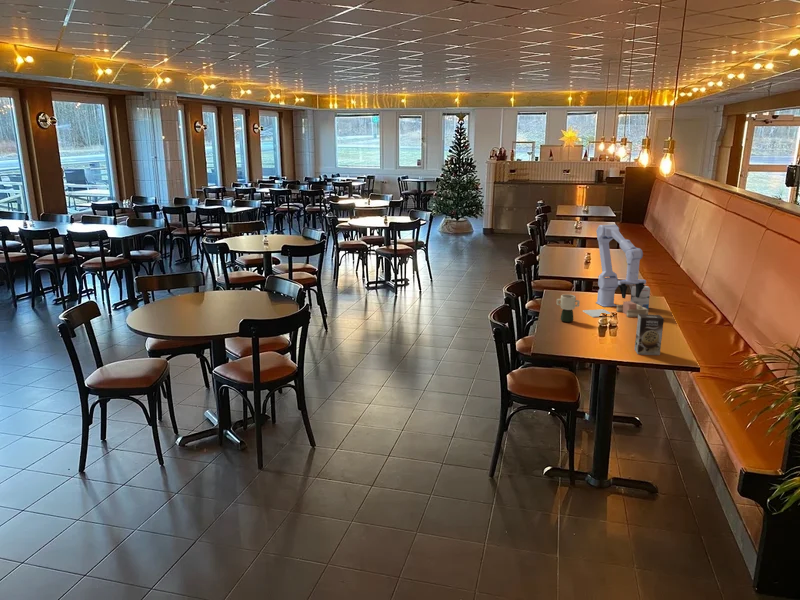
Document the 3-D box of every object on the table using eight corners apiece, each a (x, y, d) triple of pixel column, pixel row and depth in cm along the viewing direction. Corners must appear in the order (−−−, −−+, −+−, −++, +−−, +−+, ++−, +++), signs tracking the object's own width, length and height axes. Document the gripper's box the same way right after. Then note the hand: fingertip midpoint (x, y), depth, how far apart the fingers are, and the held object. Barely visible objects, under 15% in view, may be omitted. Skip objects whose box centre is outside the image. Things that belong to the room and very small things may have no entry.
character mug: (578, 320, 301) (580, 295, 298) (577, 324, 295) (579, 298, 292) (556, 318, 305) (557, 293, 302) (555, 322, 298) (556, 296, 295)
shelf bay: (616, 311, 317) (616, 304, 316) (635, 310, 319) (636, 303, 318) (627, 317, 306) (628, 310, 305) (647, 315, 308) (648, 309, 307)
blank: (622, 312, 315) (623, 301, 313) (629, 312, 315) (630, 301, 314) (628, 315, 309) (629, 304, 308) (635, 315, 310) (636, 304, 308)
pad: (582, 311, 318) (582, 310, 317) (603, 310, 319) (603, 309, 319) (593, 317, 306) (593, 316, 306) (614, 316, 308) (615, 315, 308)
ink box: (645, 306, 326) (647, 285, 323) (648, 309, 321) (650, 287, 318) (629, 306, 326) (631, 285, 323) (632, 309, 322) (634, 287, 319)
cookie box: (637, 354, 251) (640, 317, 247) (634, 349, 257) (637, 313, 253) (660, 355, 249) (664, 318, 245) (656, 350, 255) (660, 314, 251)
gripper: (623, 274, 302) (621, 300, 305) (650, 272, 304) (647, 298, 307) (616, 271, 309) (614, 296, 312) (642, 270, 311) (640, 295, 314)
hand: (630, 297), depth 310 cm, fingers open, 7 cm apart
